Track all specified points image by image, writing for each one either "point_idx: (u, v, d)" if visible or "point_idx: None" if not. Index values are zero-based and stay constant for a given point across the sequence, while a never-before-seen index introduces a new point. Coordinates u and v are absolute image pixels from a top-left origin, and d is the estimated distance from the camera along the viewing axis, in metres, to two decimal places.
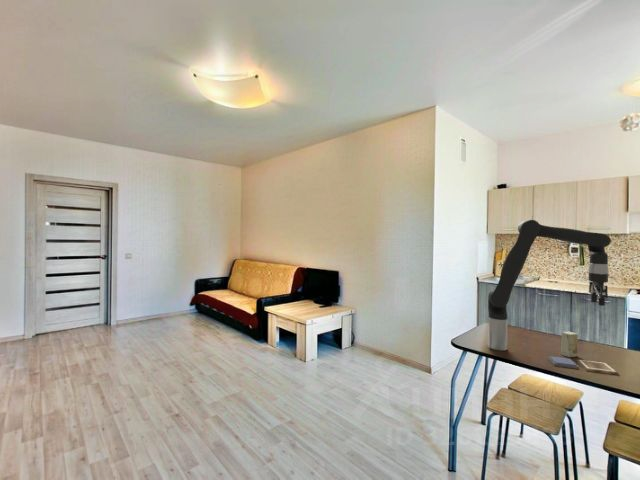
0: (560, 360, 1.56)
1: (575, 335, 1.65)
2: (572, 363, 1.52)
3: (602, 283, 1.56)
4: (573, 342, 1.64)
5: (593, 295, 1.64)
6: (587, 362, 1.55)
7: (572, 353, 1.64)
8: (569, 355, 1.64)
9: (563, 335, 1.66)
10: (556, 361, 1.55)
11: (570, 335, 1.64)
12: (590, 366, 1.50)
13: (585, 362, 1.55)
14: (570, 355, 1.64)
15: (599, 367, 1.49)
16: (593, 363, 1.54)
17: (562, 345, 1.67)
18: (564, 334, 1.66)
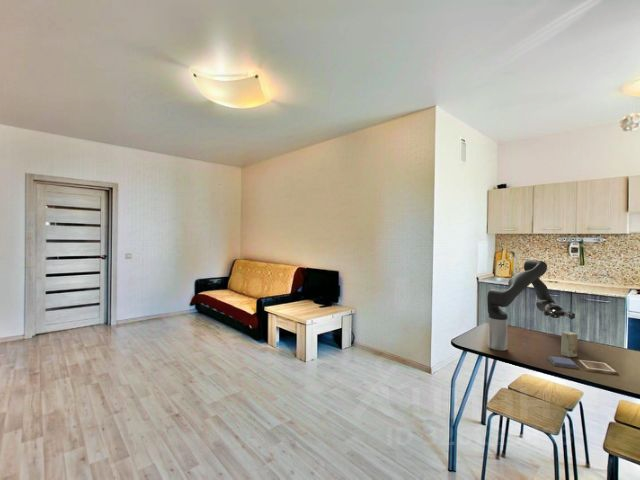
0: (560, 360, 1.56)
1: (575, 335, 1.64)
2: (572, 363, 1.52)
3: None
4: (573, 342, 1.64)
5: None
6: (587, 362, 1.55)
7: (572, 353, 1.64)
8: (569, 355, 1.64)
9: (563, 335, 1.66)
10: (556, 361, 1.55)
11: (570, 335, 1.64)
12: (590, 366, 1.50)
13: (585, 362, 1.55)
14: (570, 355, 1.64)
15: (599, 367, 1.49)
16: (593, 363, 1.54)
17: (562, 345, 1.67)
18: (564, 334, 1.66)
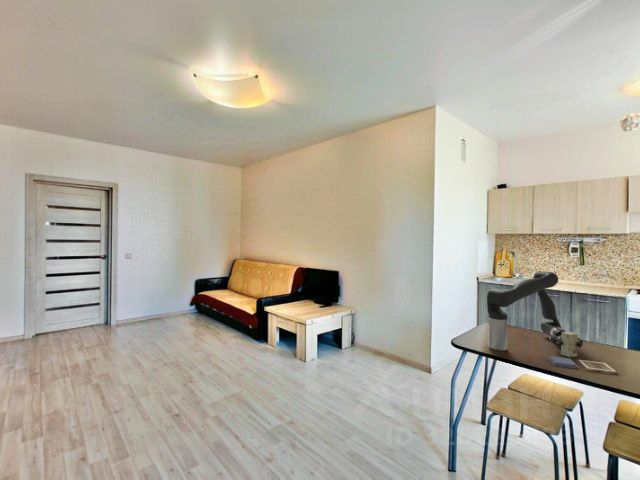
0: (560, 360, 1.56)
1: (575, 335, 1.64)
2: (572, 363, 1.52)
3: None
4: (573, 342, 1.64)
5: None
6: (587, 362, 1.55)
7: (572, 353, 1.64)
8: (569, 355, 1.64)
9: (563, 335, 1.66)
10: (556, 361, 1.55)
11: (570, 335, 1.64)
12: (590, 366, 1.50)
13: (585, 362, 1.55)
14: (570, 355, 1.64)
15: (599, 367, 1.49)
16: (593, 363, 1.54)
17: (562, 345, 1.67)
18: (564, 334, 1.66)
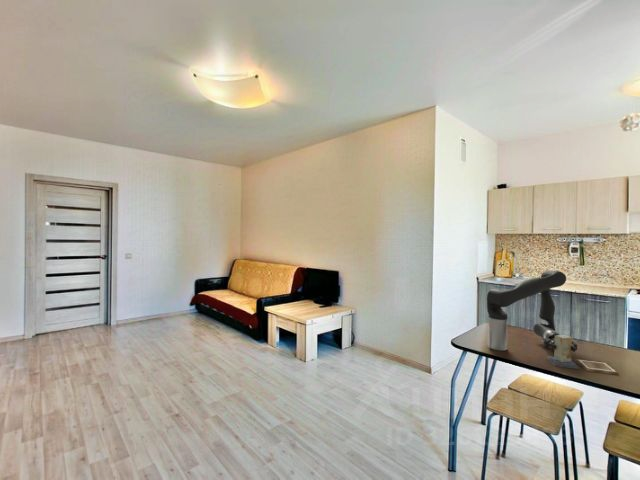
0: None
1: (569, 339, 1.54)
2: (572, 363, 1.52)
3: None
4: (567, 346, 1.54)
5: None
6: (587, 362, 1.55)
7: (566, 358, 1.54)
8: (563, 360, 1.53)
9: (556, 339, 1.56)
10: (556, 361, 1.55)
11: (564, 339, 1.53)
12: (590, 366, 1.50)
13: (585, 362, 1.55)
14: (564, 360, 1.53)
15: (599, 367, 1.49)
16: (593, 363, 1.54)
17: None
18: (557, 337, 1.56)
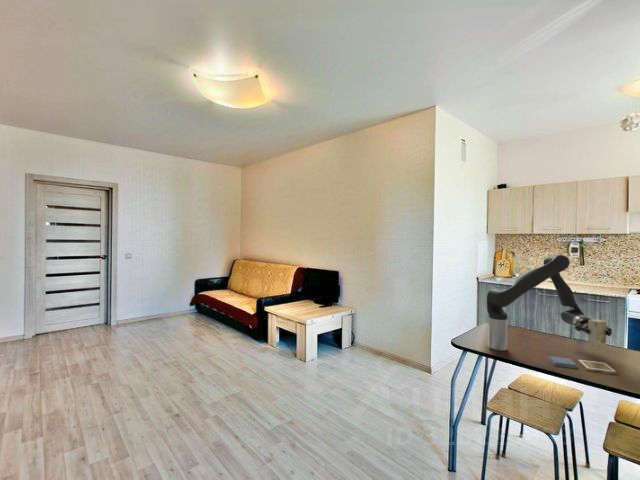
0: (560, 360, 1.56)
1: (604, 323, 1.49)
2: (572, 363, 1.52)
3: None
4: (602, 330, 1.49)
5: None
6: (587, 362, 1.55)
7: (601, 343, 1.49)
8: (597, 345, 1.48)
9: (590, 323, 1.51)
10: (556, 361, 1.55)
11: (598, 323, 1.48)
12: (590, 366, 1.50)
13: (585, 362, 1.55)
14: (598, 345, 1.48)
15: (599, 367, 1.49)
16: (593, 363, 1.54)
17: (589, 334, 1.51)
18: (591, 322, 1.50)
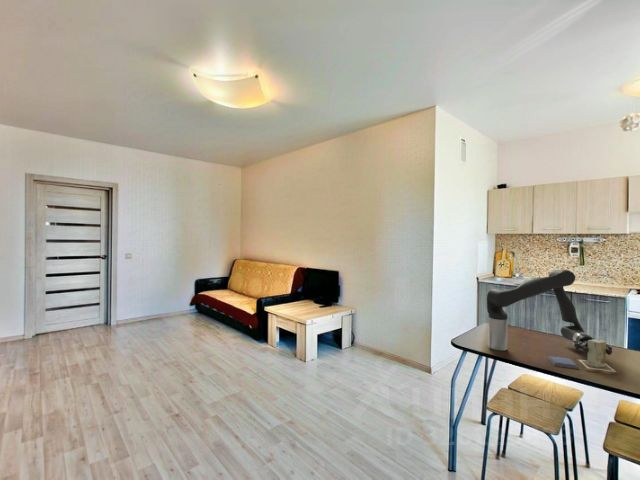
0: (560, 360, 1.56)
1: (603, 343, 1.49)
2: (572, 363, 1.52)
3: None
4: (601, 351, 1.49)
5: None
6: None
7: (601, 363, 1.49)
8: (597, 365, 1.48)
9: (590, 343, 1.51)
10: (556, 361, 1.55)
11: (598, 343, 1.48)
12: (590, 366, 1.50)
13: (585, 362, 1.55)
14: (598, 365, 1.48)
15: (599, 367, 1.49)
16: None
17: (589, 354, 1.51)
18: (591, 342, 1.51)
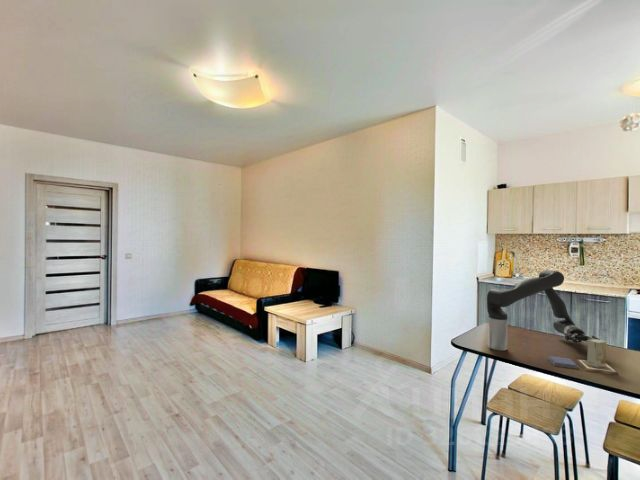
0: (560, 360, 1.56)
1: (603, 343, 1.49)
2: (572, 363, 1.52)
3: None
4: (601, 351, 1.49)
5: None
6: None
7: (601, 363, 1.49)
8: (597, 365, 1.48)
9: (590, 343, 1.51)
10: (556, 361, 1.55)
11: (598, 343, 1.48)
12: (590, 366, 1.50)
13: (585, 362, 1.55)
14: (598, 365, 1.48)
15: (599, 367, 1.49)
16: None
17: (589, 354, 1.51)
18: (591, 342, 1.51)
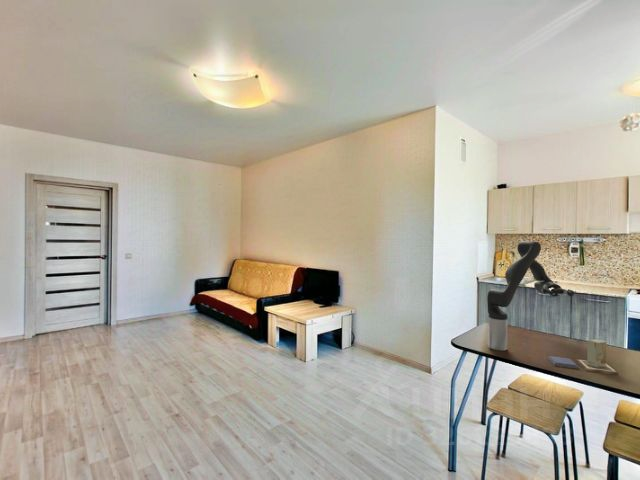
0: (560, 360, 1.56)
1: (603, 343, 1.49)
2: (572, 363, 1.52)
3: None
4: (601, 351, 1.49)
5: None
6: None
7: (601, 363, 1.49)
8: (597, 365, 1.48)
9: (590, 343, 1.51)
10: (556, 361, 1.55)
11: (598, 343, 1.48)
12: (590, 366, 1.50)
13: (585, 362, 1.55)
14: (598, 365, 1.48)
15: (599, 367, 1.49)
16: None
17: (589, 354, 1.51)
18: (591, 342, 1.51)
